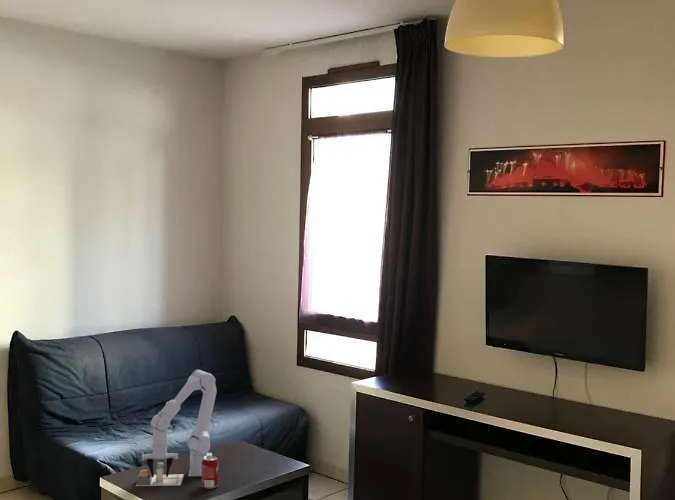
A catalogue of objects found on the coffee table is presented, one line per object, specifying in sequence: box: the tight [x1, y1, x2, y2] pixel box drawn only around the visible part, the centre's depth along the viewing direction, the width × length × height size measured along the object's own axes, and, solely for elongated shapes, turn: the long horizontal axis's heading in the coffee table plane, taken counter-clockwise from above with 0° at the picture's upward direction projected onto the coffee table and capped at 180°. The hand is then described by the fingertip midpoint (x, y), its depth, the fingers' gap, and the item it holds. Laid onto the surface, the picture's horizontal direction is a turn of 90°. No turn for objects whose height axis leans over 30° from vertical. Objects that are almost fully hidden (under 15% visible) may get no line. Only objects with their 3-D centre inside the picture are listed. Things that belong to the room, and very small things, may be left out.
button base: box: [136, 473, 152, 485], centre depth 314 cm, size 5×5×3 cm
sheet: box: [135, 473, 185, 487], centre depth 318 cm, size 18×13×1 cm
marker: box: [155, 461, 165, 483], centre depth 316 cm, size 3×3×8 cm
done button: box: [139, 469, 150, 478], centre depth 314 cm, size 4×4×4 cm
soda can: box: [201, 455, 219, 490], centre depth 312 cm, size 7×7×12 cm
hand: (159, 476), depth 316 cm, fingers open, 5 cm apart
